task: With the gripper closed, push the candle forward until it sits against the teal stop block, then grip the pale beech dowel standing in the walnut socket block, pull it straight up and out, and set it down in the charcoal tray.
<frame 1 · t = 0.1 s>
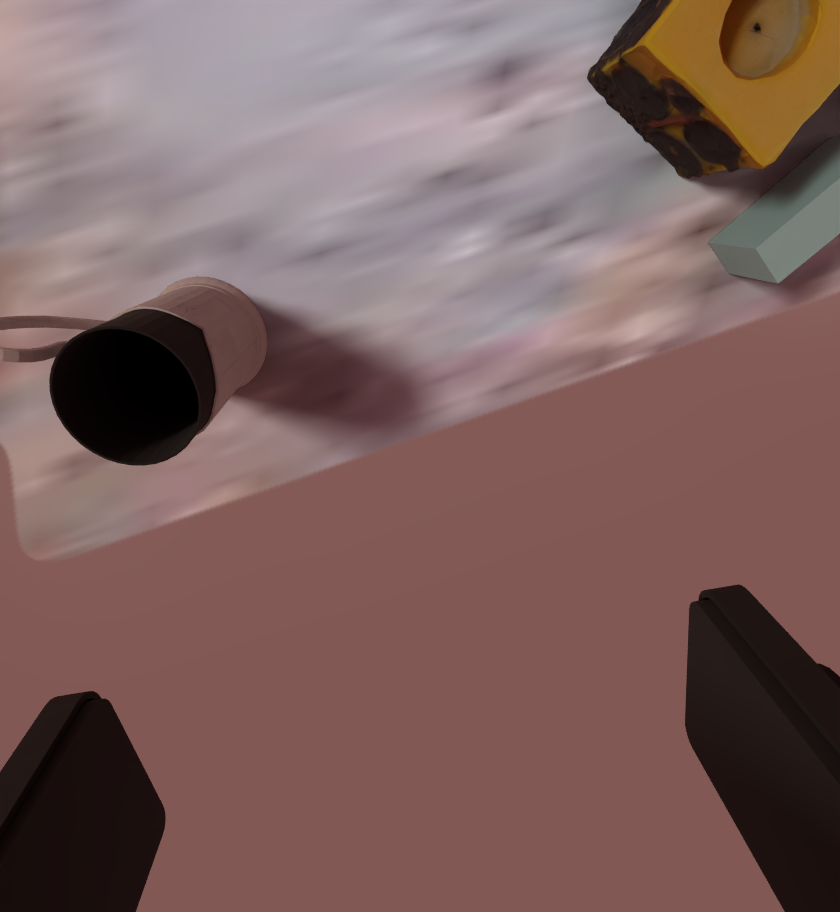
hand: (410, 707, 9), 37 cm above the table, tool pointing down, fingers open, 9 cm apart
stop block: (777, 208, 42), on the table
candle: (686, 64, 38), on the table
glass holder: (172, 326, 43), on the table
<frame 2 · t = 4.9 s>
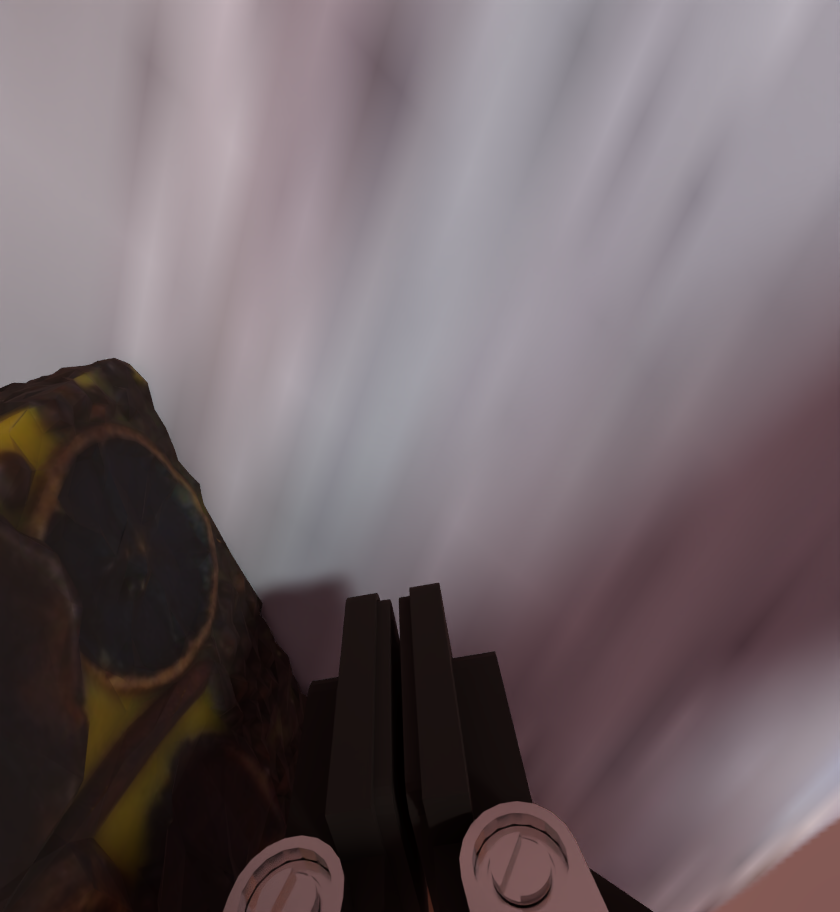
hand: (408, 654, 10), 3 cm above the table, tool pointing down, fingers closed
candle: (42, 614, 13), on the table, touching gripper
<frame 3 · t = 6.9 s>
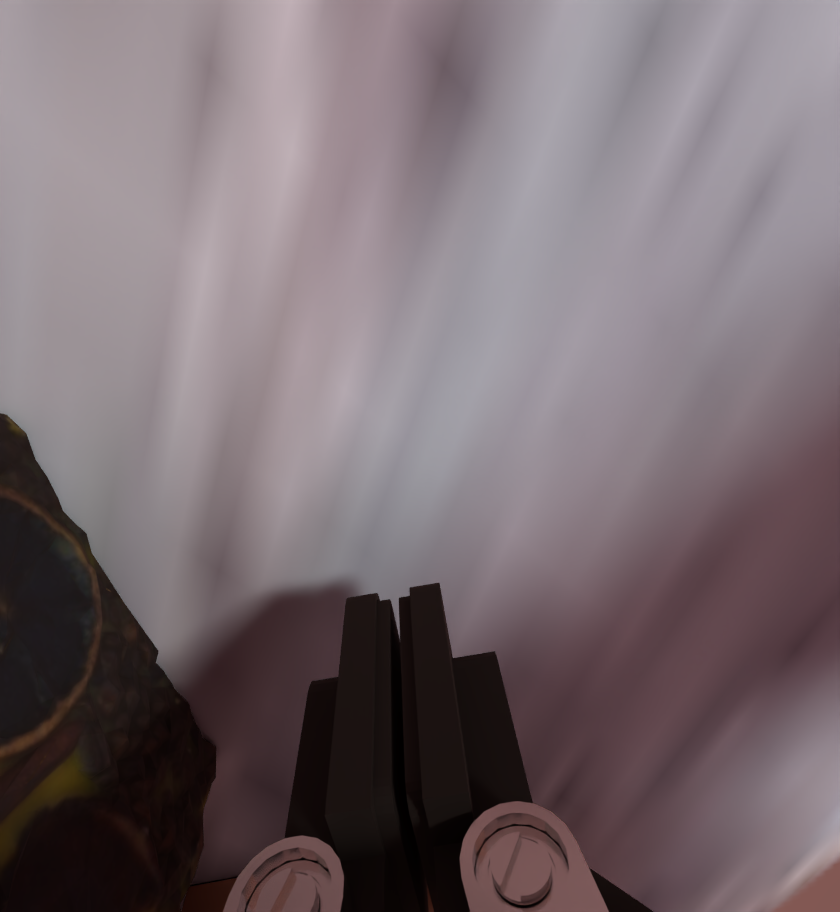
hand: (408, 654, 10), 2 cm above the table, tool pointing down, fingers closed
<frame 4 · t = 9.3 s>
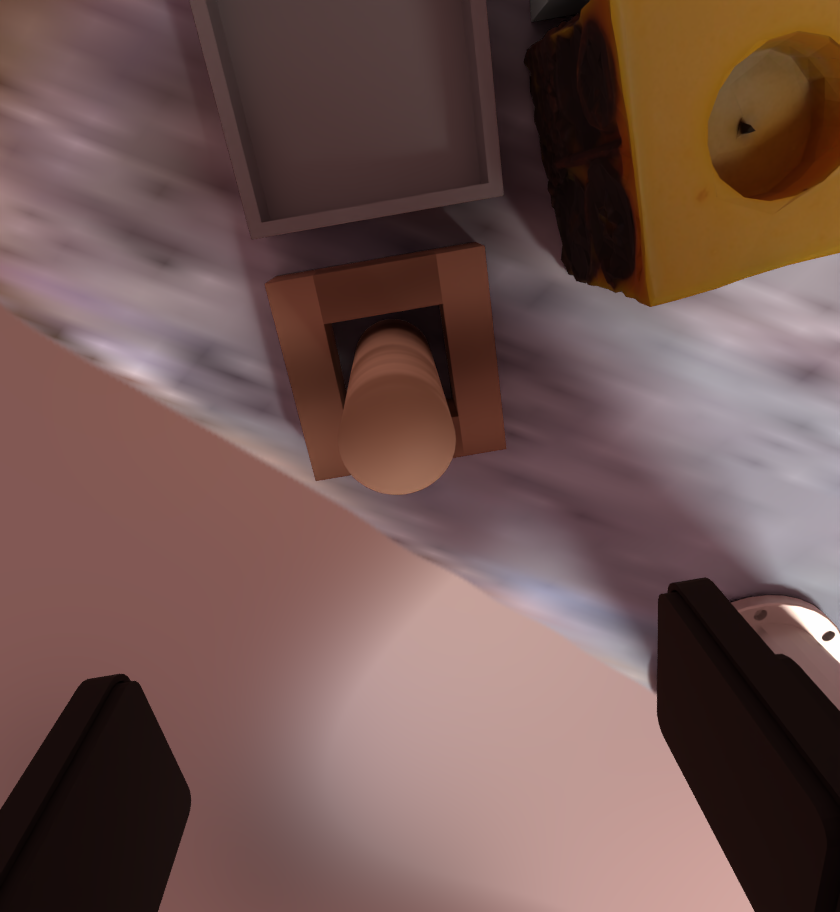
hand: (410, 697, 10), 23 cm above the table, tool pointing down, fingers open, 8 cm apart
candle: (644, 142, 28), on the table
dowel: (394, 390, 25), in the socket block
socket block: (393, 357, 31), on the table
tray: (354, 81, 26), on the table
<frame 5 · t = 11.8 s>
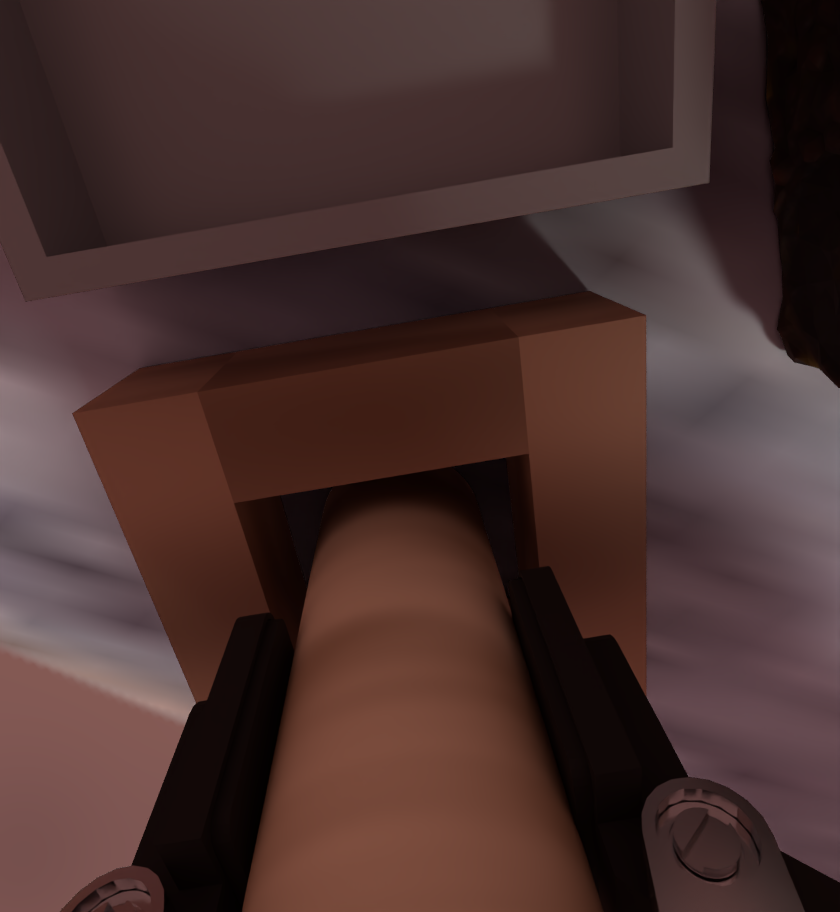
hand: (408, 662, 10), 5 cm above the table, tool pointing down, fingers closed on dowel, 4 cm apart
dowel: (411, 715, 9), in the socket block, touching gripper
socket block: (402, 524, 15), on the table
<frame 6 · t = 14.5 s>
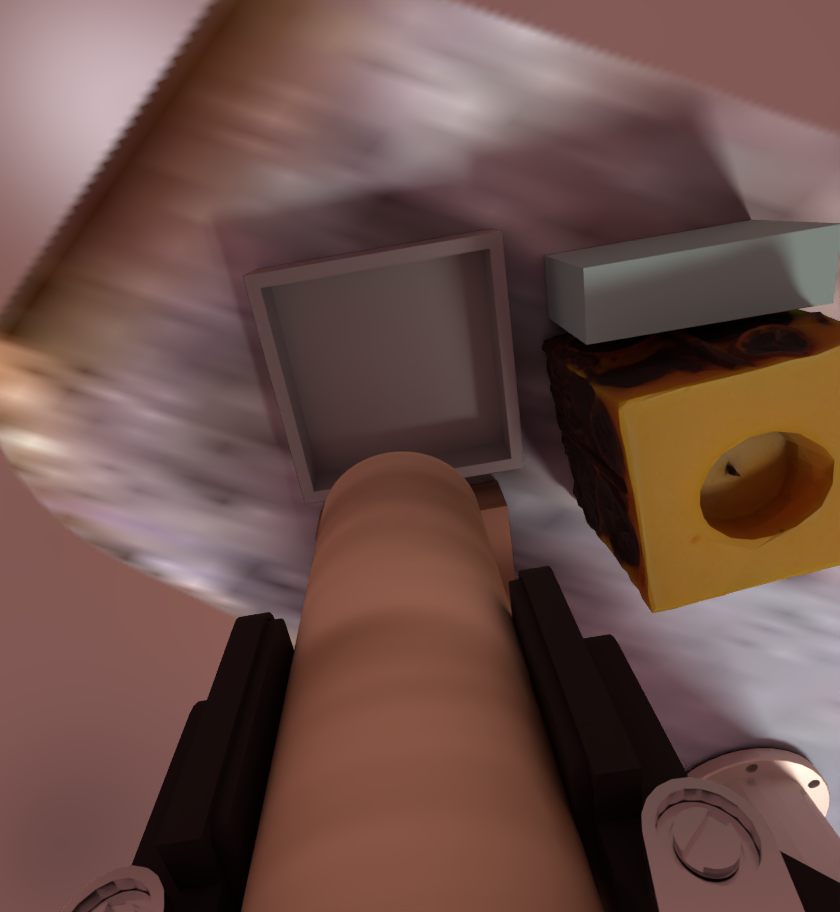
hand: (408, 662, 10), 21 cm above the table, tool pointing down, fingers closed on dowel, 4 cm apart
stop block: (647, 270, 28), on the table
candle: (646, 401, 31), on the table
dowel: (411, 715, 9), point 22 cm above the table, touching gripper
socket block: (422, 568, 34), on the table
tray: (394, 364, 29), on the table
when the fingers open (7 cm above the table, at t = 17.3 s): dowel drops 1 cm, resting on tray.
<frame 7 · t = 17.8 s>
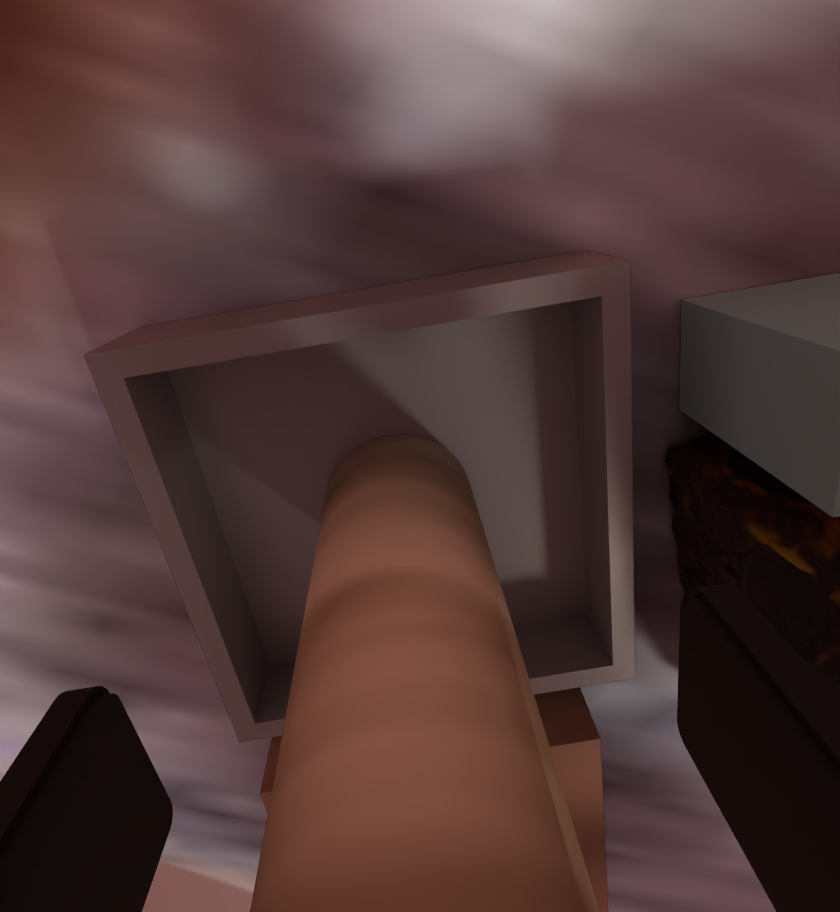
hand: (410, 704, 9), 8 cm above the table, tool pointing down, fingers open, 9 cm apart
candle: (828, 538, 18), on the table
dowel: (408, 662, 10), in the tray, point 7 cm above the table
socket block: (444, 786, 22), on the table
tray: (399, 489, 17), on the table
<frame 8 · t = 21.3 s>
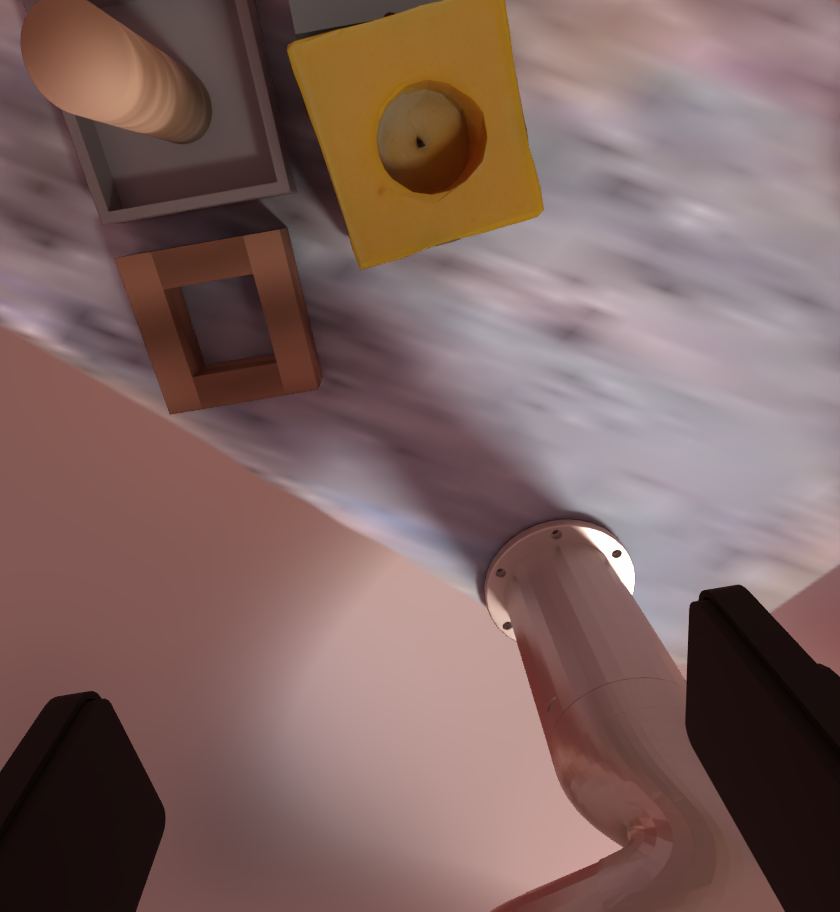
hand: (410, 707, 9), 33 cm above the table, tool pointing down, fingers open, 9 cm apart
stop block: (390, 15, 33), on the table
candle: (411, 151, 36), on the table
dowel: (135, 85, 28), in the tray, point 7 cm above the table
socket block: (233, 318, 39), on the table
tray: (180, 105, 34), on the table
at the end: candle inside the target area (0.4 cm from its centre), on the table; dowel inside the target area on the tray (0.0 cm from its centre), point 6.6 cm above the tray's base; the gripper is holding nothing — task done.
